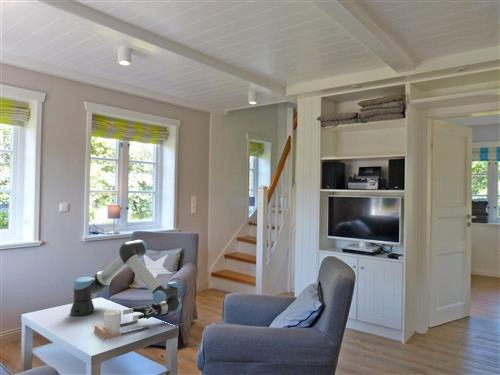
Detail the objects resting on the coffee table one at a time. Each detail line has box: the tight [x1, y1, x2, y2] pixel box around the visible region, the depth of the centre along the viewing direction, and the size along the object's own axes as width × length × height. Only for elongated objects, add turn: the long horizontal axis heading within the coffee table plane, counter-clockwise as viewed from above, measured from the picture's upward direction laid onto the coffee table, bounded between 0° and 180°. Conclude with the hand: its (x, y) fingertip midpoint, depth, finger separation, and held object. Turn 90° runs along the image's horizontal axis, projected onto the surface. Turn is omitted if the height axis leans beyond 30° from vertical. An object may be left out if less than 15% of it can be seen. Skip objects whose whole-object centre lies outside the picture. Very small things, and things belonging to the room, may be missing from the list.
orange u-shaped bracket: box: [93, 324, 122, 341], centre depth 220 cm, size 16×9×4 cm, turn 43°
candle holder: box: [103, 309, 122, 335], centre depth 222 cm, size 10×10×12 cm
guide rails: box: [120, 319, 150, 336], centre depth 229 cm, size 16×17×2 cm
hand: (127, 315), depth 228 cm, fingers open, 13 cm apart
